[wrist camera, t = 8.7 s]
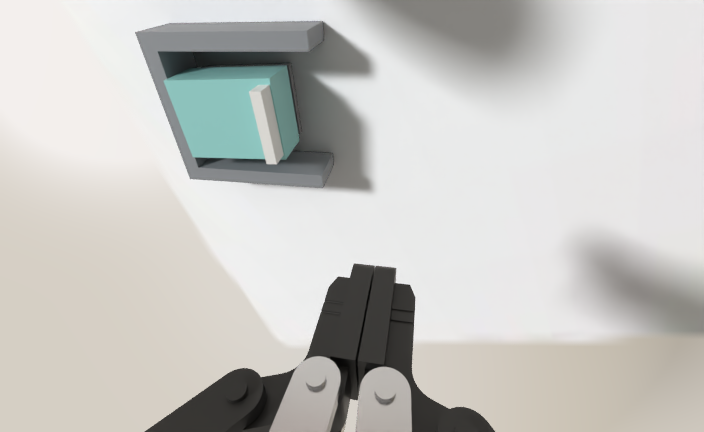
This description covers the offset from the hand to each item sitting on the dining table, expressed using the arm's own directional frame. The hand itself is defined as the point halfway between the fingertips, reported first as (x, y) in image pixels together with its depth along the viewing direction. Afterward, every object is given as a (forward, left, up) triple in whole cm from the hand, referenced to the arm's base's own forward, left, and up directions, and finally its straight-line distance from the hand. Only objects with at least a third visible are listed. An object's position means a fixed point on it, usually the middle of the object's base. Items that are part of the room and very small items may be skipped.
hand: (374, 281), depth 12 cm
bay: (+12, 0, -19) cm, 22 cm away
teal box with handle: (+13, 0, -19) cm, 23 cm away
